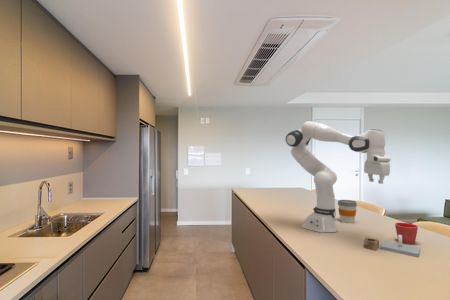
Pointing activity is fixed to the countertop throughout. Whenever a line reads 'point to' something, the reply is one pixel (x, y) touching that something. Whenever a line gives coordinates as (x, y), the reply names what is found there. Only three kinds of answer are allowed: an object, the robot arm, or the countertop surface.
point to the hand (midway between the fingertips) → (375, 182)
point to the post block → (400, 247)
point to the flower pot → (407, 232)
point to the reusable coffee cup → (347, 210)
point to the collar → (371, 243)
